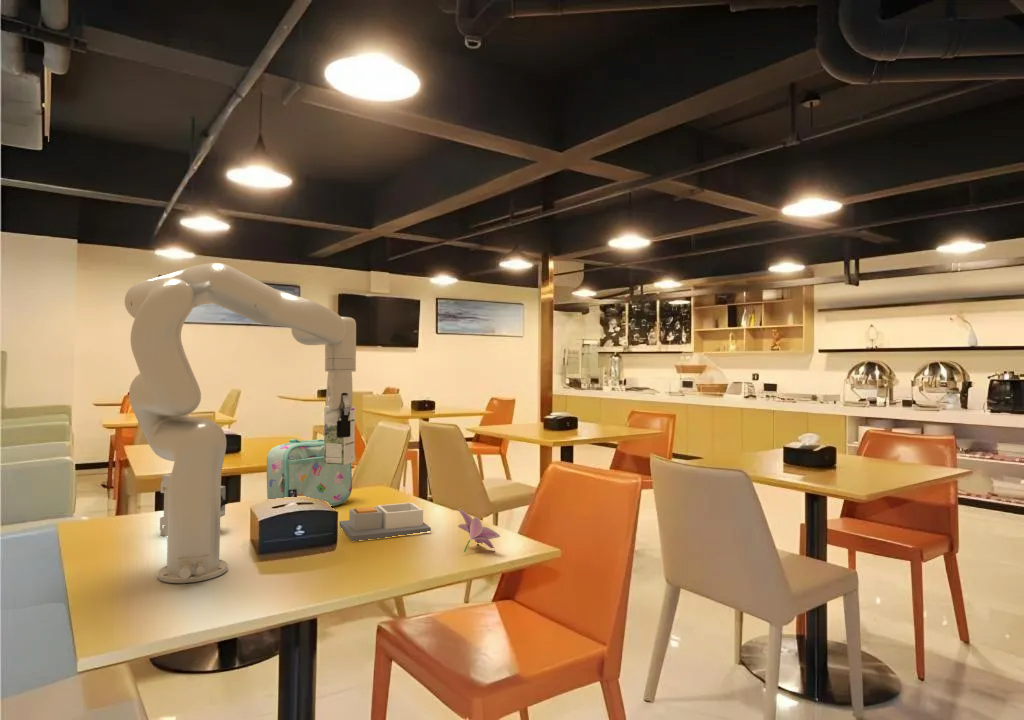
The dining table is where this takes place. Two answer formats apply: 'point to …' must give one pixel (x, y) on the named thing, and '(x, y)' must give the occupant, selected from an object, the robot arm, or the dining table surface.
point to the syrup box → (338, 439)
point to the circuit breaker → (165, 519)
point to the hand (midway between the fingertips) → (339, 434)
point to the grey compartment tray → (385, 522)
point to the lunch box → (306, 473)
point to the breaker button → (364, 510)
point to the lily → (477, 530)
